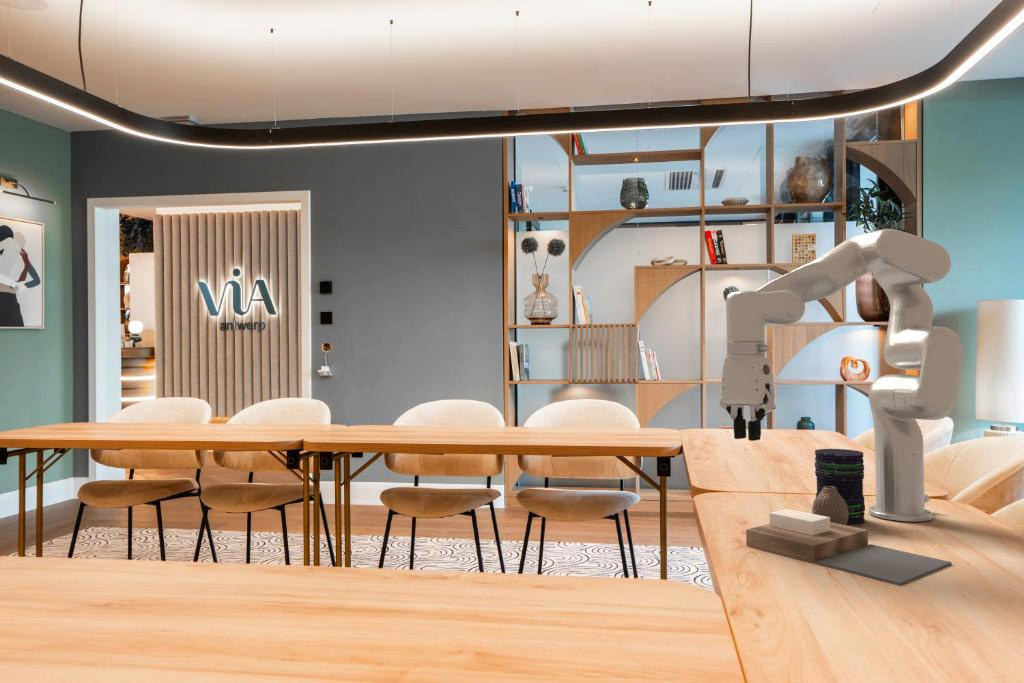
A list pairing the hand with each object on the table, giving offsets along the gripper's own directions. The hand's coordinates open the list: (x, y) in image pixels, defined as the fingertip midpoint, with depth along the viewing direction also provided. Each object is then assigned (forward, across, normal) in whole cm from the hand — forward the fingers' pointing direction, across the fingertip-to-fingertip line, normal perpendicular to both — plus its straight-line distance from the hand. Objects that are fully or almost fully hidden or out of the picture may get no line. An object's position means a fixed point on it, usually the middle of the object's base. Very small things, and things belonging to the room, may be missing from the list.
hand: (747, 438), depth 142 cm
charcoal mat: (+19, -28, 0) cm, 34 cm away
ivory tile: (+16, -12, 0) cm, 20 cm away
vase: (+19, -9, -15) cm, 26 cm away
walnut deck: (+19, -13, 0) cm, 23 cm away
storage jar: (+19, -6, -24) cm, 31 cm away
